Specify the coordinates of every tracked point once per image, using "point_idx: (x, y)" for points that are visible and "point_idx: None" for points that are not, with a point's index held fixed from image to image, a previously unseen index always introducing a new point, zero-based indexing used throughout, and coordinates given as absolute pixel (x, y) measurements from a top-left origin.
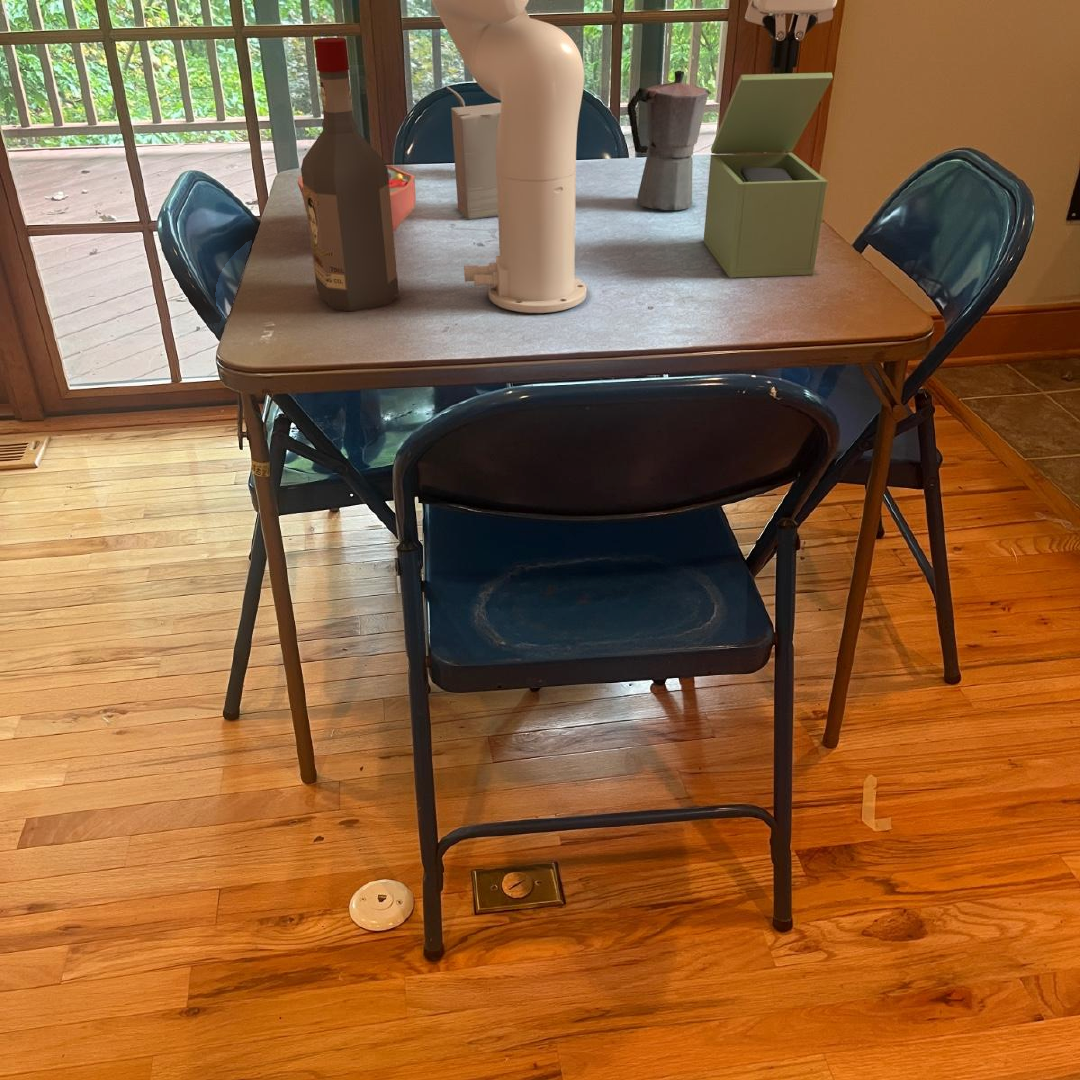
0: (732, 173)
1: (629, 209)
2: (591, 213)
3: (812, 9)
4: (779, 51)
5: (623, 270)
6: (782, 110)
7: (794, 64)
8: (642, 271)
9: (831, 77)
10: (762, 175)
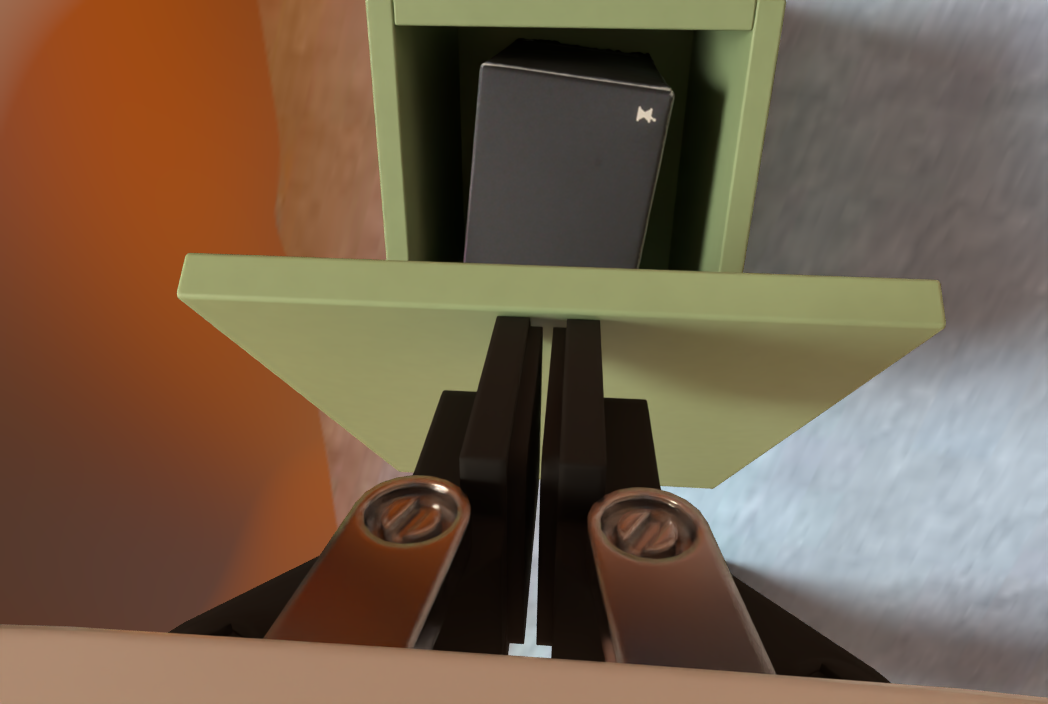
0: (742, 186)
1: (773, 589)
2: (883, 577)
3: (157, 642)
4: (614, 456)
5: (1012, 116)
6: None
7: (462, 394)
8: (957, 98)
9: (193, 254)
10: (578, 247)
